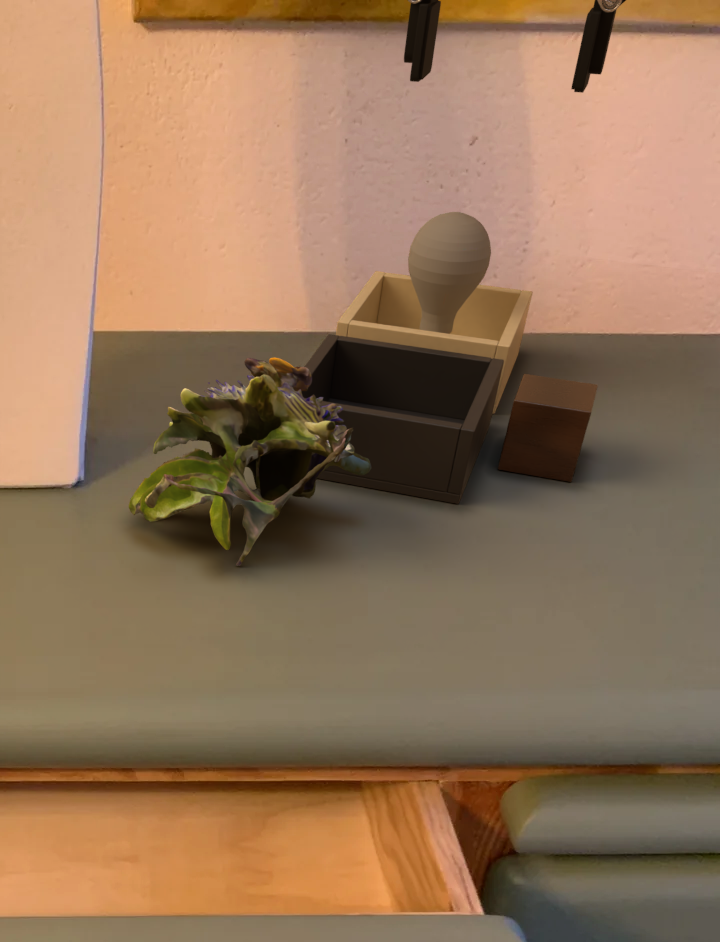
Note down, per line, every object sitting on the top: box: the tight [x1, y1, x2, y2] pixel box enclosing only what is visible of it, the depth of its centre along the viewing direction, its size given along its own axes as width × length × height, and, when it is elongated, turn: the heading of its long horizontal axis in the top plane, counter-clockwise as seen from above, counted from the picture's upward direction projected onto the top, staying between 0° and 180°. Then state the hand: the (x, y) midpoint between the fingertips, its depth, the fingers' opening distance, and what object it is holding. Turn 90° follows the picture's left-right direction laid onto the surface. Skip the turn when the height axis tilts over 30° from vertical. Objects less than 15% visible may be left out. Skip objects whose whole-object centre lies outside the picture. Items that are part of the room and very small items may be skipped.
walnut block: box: [497, 373, 599, 483], centre depth 72 cm, size 4×4×4 cm
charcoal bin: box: [301, 333, 504, 505], centre depth 73 cm, size 12×12×5 cm
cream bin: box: [335, 270, 533, 415], centre depth 83 cm, size 12×12×5 cm
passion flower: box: [128, 357, 371, 567], centre depth 64 cm, size 11×11×12 cm
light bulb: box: [407, 211, 492, 334], centre depth 80 cm, size 6×6×10 cm
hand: (498, 82), depth 71 cm, fingers open, 9 cm apart
